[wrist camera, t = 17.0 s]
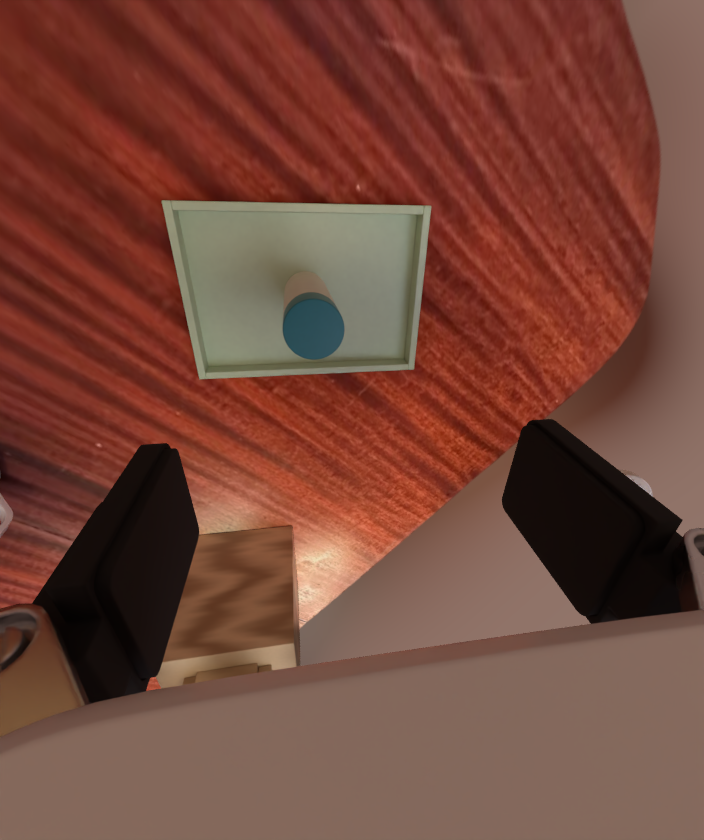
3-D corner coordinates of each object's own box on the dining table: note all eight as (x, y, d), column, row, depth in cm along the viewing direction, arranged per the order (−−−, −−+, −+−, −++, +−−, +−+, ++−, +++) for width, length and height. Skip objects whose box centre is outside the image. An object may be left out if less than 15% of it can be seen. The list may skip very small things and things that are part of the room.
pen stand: (292, 525, 44) (294, 710, 28) (298, 588, 50) (303, 770, 34) (188, 536, 42) (125, 739, 26) (207, 599, 48) (166, 797, 32)
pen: (326, 270, 30) (344, 298, 20) (327, 315, 31) (344, 359, 22) (282, 271, 29) (279, 299, 20) (286, 315, 31) (284, 361, 22)
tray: (423, 206, 29) (431, 205, 27) (407, 362, 35) (414, 369, 34) (169, 201, 26) (161, 200, 24) (203, 370, 33) (199, 379, 31)
